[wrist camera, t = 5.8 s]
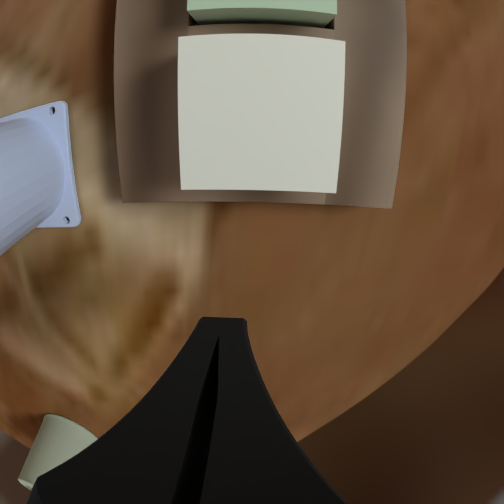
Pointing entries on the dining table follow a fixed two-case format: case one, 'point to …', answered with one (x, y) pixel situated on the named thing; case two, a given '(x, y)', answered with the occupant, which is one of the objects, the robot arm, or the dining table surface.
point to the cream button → (260, 112)
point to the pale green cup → (54, 446)
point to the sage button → (263, 12)
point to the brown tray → (183, 24)
